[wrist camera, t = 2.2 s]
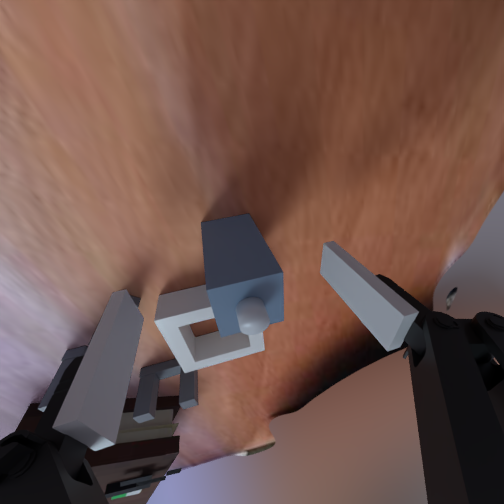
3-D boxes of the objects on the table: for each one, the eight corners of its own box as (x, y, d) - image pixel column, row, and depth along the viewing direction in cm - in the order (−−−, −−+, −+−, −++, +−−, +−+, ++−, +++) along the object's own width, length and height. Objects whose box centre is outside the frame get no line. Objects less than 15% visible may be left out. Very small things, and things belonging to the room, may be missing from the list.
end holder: (250, 273, 21) (258, 294, 18) (257, 328, 26) (264, 350, 23) (158, 295, 19) (154, 320, 17) (185, 347, 25) (184, 373, 22)
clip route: (161, 282, 19) (152, 328, 15) (198, 360, 27) (199, 404, 22) (25, 313, 17) (-27, 374, 13) (106, 386, 25) (90, 439, 21)
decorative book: (-6, 561, 29) (-50, 493, 16) (29, 483, 35) (17, 389, 22) (145, 520, 37) (194, 452, 24) (152, 462, 43) (194, 383, 30)
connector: (249, 213, 17) (292, 287, 10) (253, 252, 19) (291, 337, 12) (200, 222, 17) (207, 309, 9) (211, 261, 19) (223, 356, 11)
